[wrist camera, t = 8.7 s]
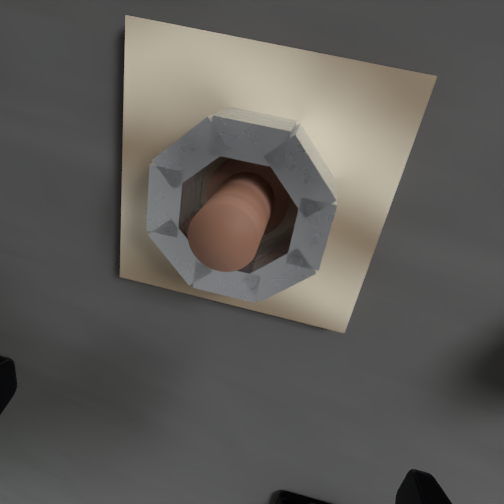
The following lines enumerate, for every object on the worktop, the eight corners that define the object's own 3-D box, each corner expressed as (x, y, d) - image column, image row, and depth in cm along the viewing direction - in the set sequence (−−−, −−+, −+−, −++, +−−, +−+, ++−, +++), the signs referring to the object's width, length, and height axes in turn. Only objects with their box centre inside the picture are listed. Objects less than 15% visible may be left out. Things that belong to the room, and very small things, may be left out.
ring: (308, 279, 19) (306, 315, 16) (169, 246, 19) (144, 276, 16) (349, 130, 15) (354, 144, 13) (181, 96, 16) (152, 103, 13)
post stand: (343, 321, 20) (349, 412, 15) (128, 267, 21) (62, 335, 16) (430, 75, 15) (487, 81, 10) (136, 17, 16) (40, -7, 11)
